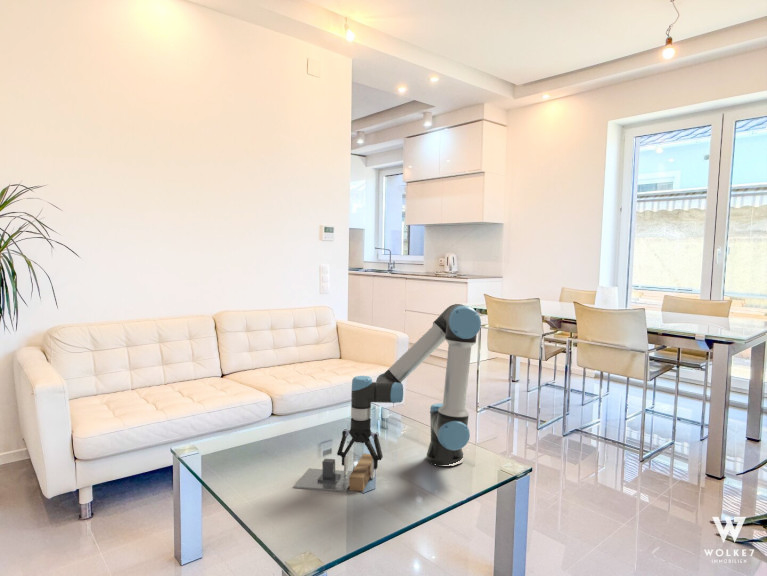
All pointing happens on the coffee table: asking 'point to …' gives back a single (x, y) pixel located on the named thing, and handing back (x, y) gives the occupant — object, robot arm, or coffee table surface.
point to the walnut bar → (361, 473)
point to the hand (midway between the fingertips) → (359, 475)
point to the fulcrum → (325, 478)
